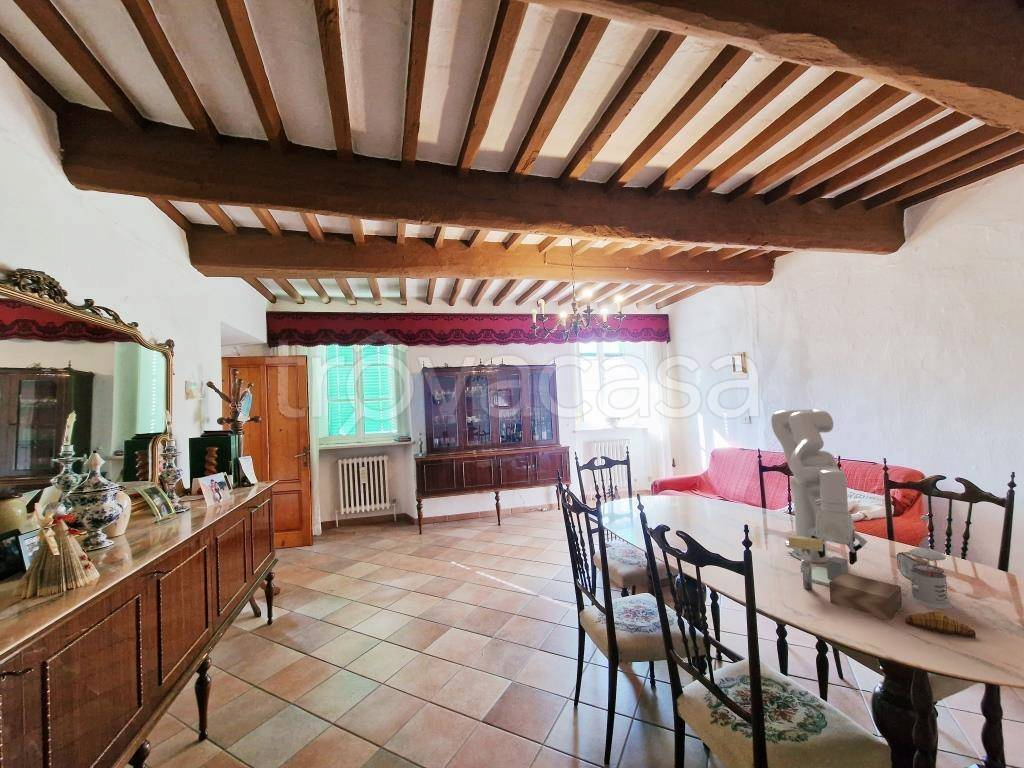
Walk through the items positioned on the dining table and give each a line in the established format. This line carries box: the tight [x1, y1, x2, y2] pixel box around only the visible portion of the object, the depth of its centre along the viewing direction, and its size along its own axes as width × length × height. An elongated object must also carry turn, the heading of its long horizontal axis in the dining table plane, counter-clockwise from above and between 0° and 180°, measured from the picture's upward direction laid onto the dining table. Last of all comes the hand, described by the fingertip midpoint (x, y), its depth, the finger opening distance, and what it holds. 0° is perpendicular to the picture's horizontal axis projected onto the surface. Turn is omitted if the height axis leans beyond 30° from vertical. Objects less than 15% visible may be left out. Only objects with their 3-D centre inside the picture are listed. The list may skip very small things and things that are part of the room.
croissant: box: [904, 611, 977, 638], centre depth 116 cm, size 14×7×5 cm, turn 54°
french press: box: [907, 515, 953, 609], centre depth 133 cm, size 10×12×25 cm
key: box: [787, 534, 823, 590], centre depth 140 cm, size 10×9×16 cm
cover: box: [811, 556, 849, 587], centre depth 148 cm, size 16×14×8 cm
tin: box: [895, 551, 933, 583], centre depth 146 cm, size 15×3×8 cm, turn 168°
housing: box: [828, 572, 903, 621], centre depth 131 cm, size 14×12×6 cm
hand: (837, 559), depth 148 cm, fingers open, 8 cm apart
